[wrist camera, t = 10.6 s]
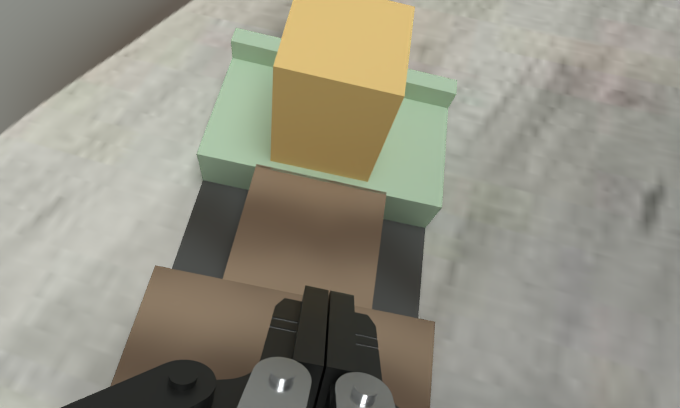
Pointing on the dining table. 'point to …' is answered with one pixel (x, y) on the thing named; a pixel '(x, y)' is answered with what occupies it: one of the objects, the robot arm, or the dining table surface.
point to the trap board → (284, 278)
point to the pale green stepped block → (387, 176)
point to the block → (339, 83)
